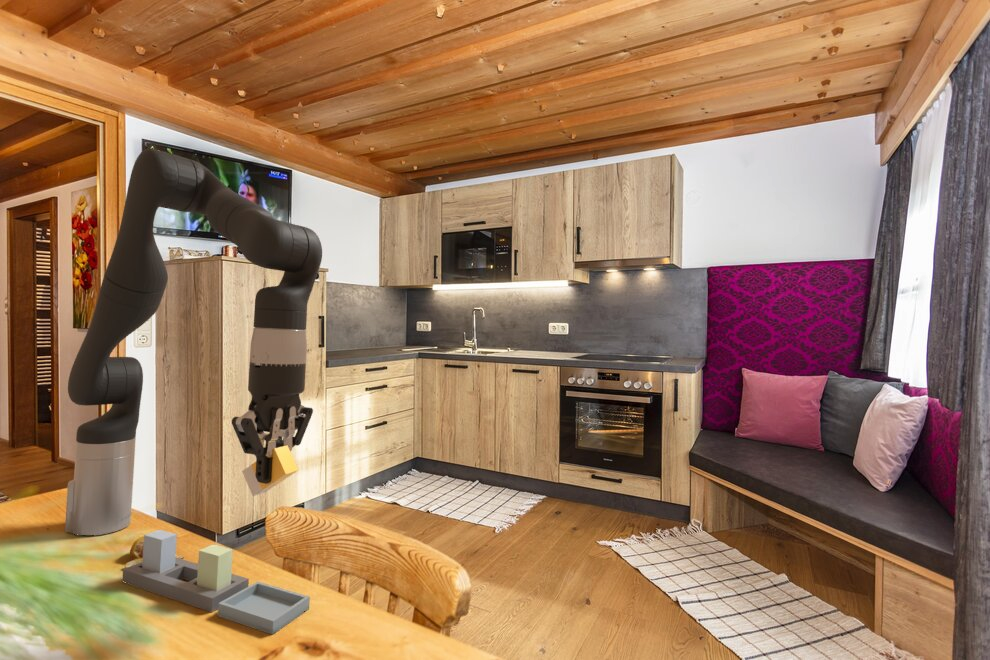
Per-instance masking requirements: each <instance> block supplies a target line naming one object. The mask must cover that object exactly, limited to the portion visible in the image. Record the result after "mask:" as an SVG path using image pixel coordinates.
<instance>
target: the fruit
mask: <svg viewBox="0 0 990 660" xmlns="http://www.w3.org/2000/svg"><path fill="white" fill-rule="evenodd" d="M143 545H144V536H141V537H139V538H138V539H136V540H135V541H134V542H133V544H132V546H131V548H130V550H129V559H130V560H131V561H128V562H126V563H125V566H124V569H125V568H128V567H130V566H133V565H135V564H138V563H140V562H142V561H143ZM176 557H177V558H180V559H183V558H185V556H184V555H180V554H179V555H178V554H176Z"/></svg>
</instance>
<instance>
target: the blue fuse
mask: <svg viewBox="0 0 990 660" xmlns="http://www.w3.org/2000/svg"><path fill="white" fill-rule="evenodd" d="M143 537H144V545H143V561H142V568H143V569H146V570H150V571H153V572H156V573H159V574H160V573H162V572H164V571H167V570H169V569H171V568H174V567H175V557H176V555H177V553H176V552H177V542H178V541H177V539H178V538H177V537H178V534H177V533H173V532H170V531H166V530H163V529H157V530H155V531H151V532H149V533H146V534H144V535H143Z"/></svg>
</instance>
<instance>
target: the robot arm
mask: <svg viewBox="0 0 990 660" xmlns="http://www.w3.org/2000/svg"><path fill="white" fill-rule="evenodd" d="M129 177H130V178H129V181H128V182H129V183H128V187H127V192H126V197H125V201H124V206H123V207H124V208H123V211H122V215H121V216H122V217H121V221H120V226H119V229H118V233H117V237H116V240H115V243H114V247H113V250H112V252H111V256H110V258H109V262H108V264H107V266H106V269H105V272H104V275H103V279H102V282H101V285H100V288H99V292H98V296H97V300H96V303H95V308H94V311H93V314H92V317H91V321H90V324H89V327H88V329H87V331H86V334H85V337H84V339H83V341H82V343H81V345H80V348H79V350H78V352H77V355H76V356H75V359H74V361H73V364H72V366H71V369H70V372H69V376H68V381H67V382H68V383H67V393H68V397H69V399H70V400H71V402H72V403H74V404H75V405H78V406H103V405H104V406H105V405H111V407H110V408H109V410H107V411H106V412H105V413H103V414H101V415H100V416H98V417H96V418H94V419H90V420H89V421H87V422H84V423H82V424H80V425H79V426H78V428H77V430H76V436H75V437H76V438H75V441H76V442H75V454H74V455H75V457H74V470H73V471H74V474H73V479H72V480H69V481H68V482H67V488H66V490H67V494H66V507H65V508H66V509H65V522H64V524H65V526H64V532H65V533H71V532H72V533H73V534H72V533H71V534H72V535H74V534H78V535H77V536H79V535H94V536H101V535H106V534H111V533H114V532H117V531H121V530H122V529H125V528H127V527H129V525H131V522H132V521H131V520H132V519H131V516H132V503H133V490H134V489H133V488H134V487H133V486H134V475H135V474H134V472H135V455H136V438H137V437H136V435H137V428H138V424H139V418H140V410H141V400H142V391H143V383H144V372H143V367H142V364H141V363H140V361H139V360H138V359H137V358H135V357H133V356H111V354H112V352H113V351H114V349H116V347H118V345H119V344H120V343H121V342H122V341H124V339H126V338H127V337H128V336H129V335H130V334H133V333H134V332H135V331H136V330H137V329H140V328H141V326H143V325H144V324H146V323H147V322H148V320H149V319H151V318H152V317H153V316H154V315H155V314H156V312H157V311H158V310H159V307H160V305H161V302H162V300H163V297H164V293H165V291H166V288H167V285H168V279H169V277H168V276H169V275H168V270H167V267H166V264H165V261H164V259H163V257H162V254H161V252H160V250H159V247H158V245H157V242H156V240H155V239H156V238H155V234H154V225H155V224H154V221H155V217H156V214H157V211H158V209H159V208H163V209H168V210H173V211H177V212H178V211H179V212H181V213H182V212H183V213H193V214H195V213H196V214H199V215H203V216H206V218H207V221H208V223H209V225H210V227H212V229H213V230H214V231H215V232H216V233H217V234H219V235H220V236H221V237H223V238H224V239H226V240H228V241H229V242H231V243H232V244H234V245H235V246H236V247H237V248H238V250H239V252H241V253H242V256H243V257H244V258H245V259H246V260H247V261H249V262H250V263H252V264H253V265H255V266H258V267H261V268H264V269H267V270H275V271H280V272H281V271H282V272H283V275H282V278H281V280H280V282H279V283H278V285H274V286H273V285H272V286H266V287H262V288H260V289H259V290H257V292H256V294H255V300H254V312H253V313H254V314H253V327H254V328H253V330H252V334H251V335H252V336H251V340H250V347H249V348H250V350H249V365H248V366H249V369H248V383H247V384H248V385H247V390H248V392H249V393H250V395H251V401H250V402H249V405H248V407H247V409H248V410H247V411H246V412H245V413H244V414H242V415H241V416H234V417H233V418H232V419H231V425H232V427H233V430H234V431H235V434H236V436H237V438H238V442H239V444H240V447H241V448H242V450H243V453H244V454H249V455H253V456H255V458H256V459H255V460H256V461H255V462H256V474H255V476H256V479H257V481H258V482H260V483H265V484H267V483H270V482H271V478H272V461H273V457H272V455H273V452H274V449H275V448H279V447H283V446H287V445H288V448H289V450H290V452H292V449H294V447H295V446H300V445H301V443H302V441H303V439H304V435H305V433H306V431H307V428H308V425H309V423H310V420H311V418H312V416H313V413H314V410H313V407H309V406H308V407H306V406H304V405H302V400H301V398H300V394H302V393H304V391H305V386H306V385H305V384H306V373H307V372H306V369H307V352H308V350H307V349H308V348H307V347H308V343H307V342H308V341H307V331H306V330H307V319H308V303H309V299H310V297H311V294H312V291H313V287H314V285H315V283H316V282H315V281H316V279H317V276H318V272H319V271H320V267H321V264H322V261H323V260H322V259H323V246H322V243H321V240H320V238H319V235H318V234H317V233H316V232H315V231H314V230H313V229H311V228H310V227H309V228H308V227H307V226H302V225H299V224H295V223H291V222H286V221H284V220H279V219H276V218H275V216H274V215H273V214H272V213H271V212H270V211H268V210H267V209H266V208H265V207H263V206H261V205H260V204H257V203H256V202H253V201H252V200H250V199H248V198H247V197H244V196H242V195H240V194H239V193H237V192H235V191H233V190H232V189H231V188H230V187H228V186H227V185H226V184H224V182H223V181H221V180H220V179H219V178H218V177H217V176H216V175H215V174H214V173H213V172H212V171H211V170H210V169H208V167H206V166H205V165H204V164H202V163H199V162H198V161H196V160H193V159H189V158H187V157H183V156H180V155H178V154H173V153H170V152H167V151H163V150H159V149H156V148H145V149H144V150H142V151H141V152H140V153H139V155H138V156H137V157H136V160H134V164H133V166H132V170H131V173H130V176H129ZM264 444H265V446H264Z"/></svg>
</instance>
